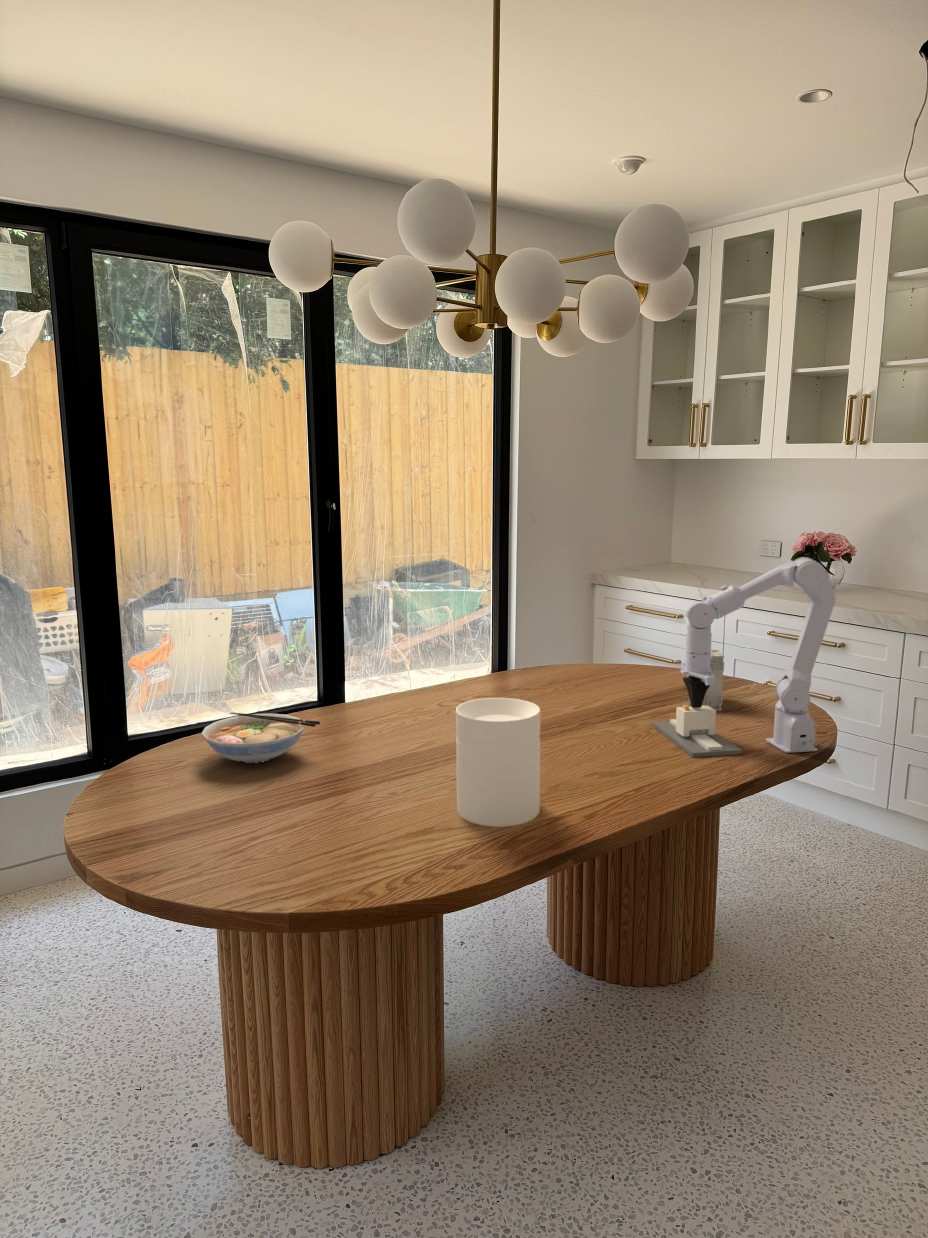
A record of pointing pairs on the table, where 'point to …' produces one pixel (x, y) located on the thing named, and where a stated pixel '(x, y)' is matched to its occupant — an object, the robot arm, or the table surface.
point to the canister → (498, 761)
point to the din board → (697, 741)
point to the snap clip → (696, 731)
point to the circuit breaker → (715, 691)
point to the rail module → (695, 719)
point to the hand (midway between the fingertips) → (696, 707)
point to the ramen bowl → (255, 736)
